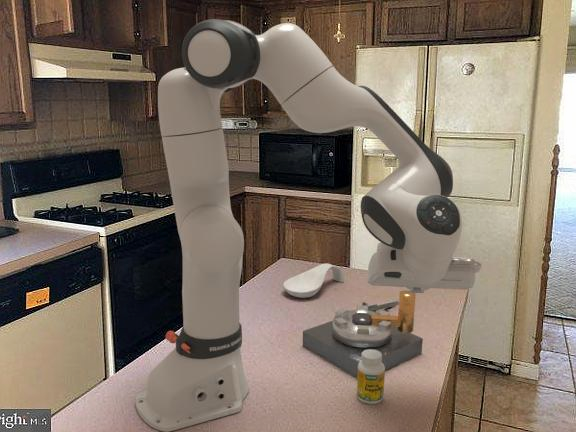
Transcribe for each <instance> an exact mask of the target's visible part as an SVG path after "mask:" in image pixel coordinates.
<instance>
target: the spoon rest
mask: <svg viewBox="0 0 576 432" xmlns="http://www.w3.org/2000/svg"><path fill="white" fill-rule="evenodd" d="M330 270H332V280H333V281H335V282H339V283H344V282H345V276H344V272H343V271H342V269H341V268H340V267H339V266H338V265H333V264H331V263H322V264H318V265H317V266H315V267H313V268H311V269H309V270H306V271H304V272H302V273H299V274H297V275H295V276H292V277H289V278H287V279H286V280H285V281H284V282H283V284H282V286H283V289H284V290H285V291H286V292H287V293H288V294H289V295H290V296H292V297H295V298H300V299H307V298H312V297H313V296H315V295H316V294H317V293H318V292H319V291H320V290H321V288H322V286H323V284H324V281H325V278H326V276H327V273H328V272H329V271H330Z"/></svg>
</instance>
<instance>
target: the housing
mask: <svg viewBox="0 0 576 432" xmlns="http://www.w3.org/2000/svg"><path fill="white" fill-rule="evenodd" d="M397 328H398V326H393V328H392V339H391V340H390V341H389V342H388V343H387V344H385V345H382V346H378V347H367V348H366V347H355V346H351V345H347V344H344V343H342V342H340V341H338V340H337V339H336V338H335V337H334V336H333V320H330V321H328V322H325V323H322V324H319V325H316V326H314V327H311V328H308V329H305V330H302V347H303V348H305V349H307V350H308V351H310V352H311V353H313V354H315V355H317V356H318V357H320V358H321V359H324V360H325V361H327V362H329V363H330V364H332V365H333V366H335V367H337V368H339V369H340V370H342V371H343V372H345V373H347V374H348V375H350V376H352V377H354V378H356V379H357V376H358V364H359V362H360V361H361V360H362V359H361V356H362V352H363V351H364V350H368V349H372V350H377V351H379V352H380V353H381V354H382V361H381V362H382V363H383V364H384V366H385V372H386V371H388V370H391V369H392V368H395V367H396V366H399V365H401V364H403V363H405V362H408V361H409V360H412V359H414V358H416V357H418V356H421V355H423V353H422V351H423V340H424V339H423V337H421V336H419V335H415V334H413V332H411V333H403V332H400V331H399V330H398V329H397Z"/></svg>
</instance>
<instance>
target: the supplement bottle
mask: <svg viewBox="0 0 576 432" xmlns="http://www.w3.org/2000/svg"><path fill="white" fill-rule="evenodd" d="M361 359H362V360H361V361H360V362H359V364H358V376H357V378H356V380H357V381H356V382H357V383H356V397H357V398H358V400H359V401H361V402H363V403H365V404H367V405H368V404H370V405H375V404H379V403H381V402H382V401H383V399H384V397H385V393H384V392H385V378H386V377H385V376H386V374H385V373H386V371H385V366H384V364H383V363H382V362H381V361H382V354H381V353H380V352H379V351H377V350H372V349H368V350H364V351H363V352H362V356H361Z"/></svg>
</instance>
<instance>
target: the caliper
mask: <svg viewBox="0 0 576 432" xmlns="http://www.w3.org/2000/svg"><path fill="white" fill-rule="evenodd" d="M361 303H362V304H361V305H363V306H368V311H373V312H378V311H382V310H384V309H388V308H393V307H396V306H397V305H398V306H399V300H397V299H393V300H389V301H385V302H379V303H369V302H368V301H362V302H361Z"/></svg>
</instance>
